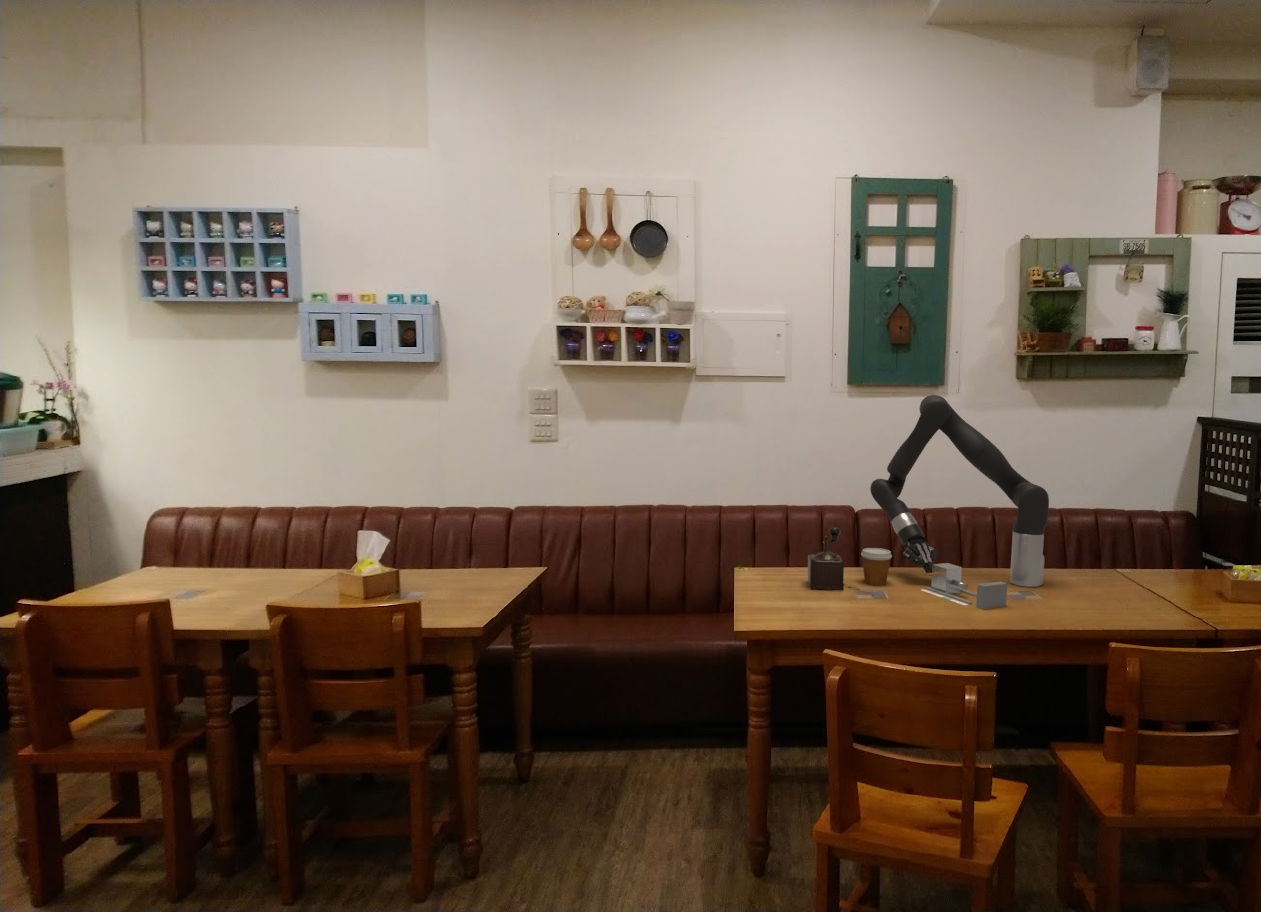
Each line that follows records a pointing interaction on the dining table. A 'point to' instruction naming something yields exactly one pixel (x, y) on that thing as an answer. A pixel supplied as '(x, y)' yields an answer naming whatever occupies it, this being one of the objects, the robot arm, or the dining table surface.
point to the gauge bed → (979, 595)
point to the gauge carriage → (947, 578)
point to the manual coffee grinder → (826, 566)
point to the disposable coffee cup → (876, 565)
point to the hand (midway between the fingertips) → (932, 574)
